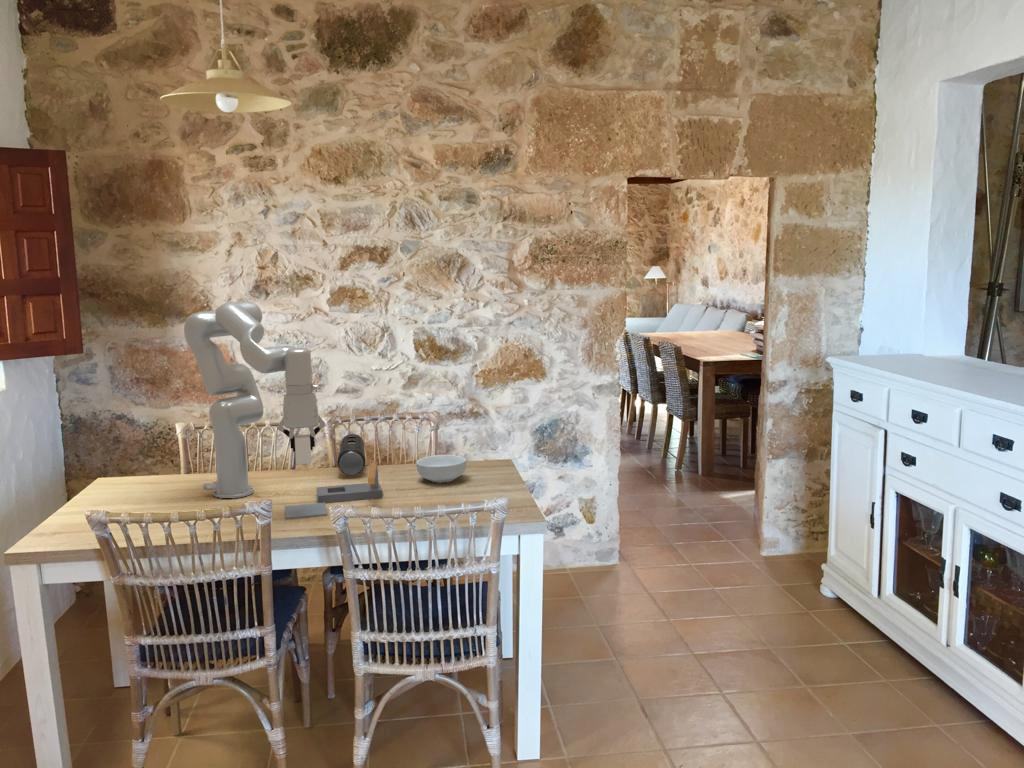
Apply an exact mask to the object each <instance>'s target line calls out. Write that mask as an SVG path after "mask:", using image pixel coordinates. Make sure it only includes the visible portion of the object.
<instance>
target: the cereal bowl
mask: <svg viewBox="0 0 1024 768" xmlns="http://www.w3.org/2000/svg"><path fill="white" fill-rule="evenodd" d="M415 463H416V469H417V473H418V474H419V476H421V477H422V478H423V479H425V480H427V481H428V480H429V481H430V482H431V481H432V483H434V482H436V483H435V484H443V483H442V482H447V483H450V481H451V482H453V481H454V480H455V479H457V478H459V477H461V476H462V475H463V474H464V473H465V470H466V469H467V458H466V457H464V456H460V455H454V454H436V455H429V456H425V457H421V458H419V459H417V461H416V462H415Z"/></svg>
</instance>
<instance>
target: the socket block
mask: <svg viewBox="0 0 1024 768" xmlns="http://www.w3.org/2000/svg"><path fill="white" fill-rule="evenodd" d="M378 470H379V469H378V468H377V469H376V475H375V482H374V484H368V482H364V483H354V484H353V483H352V484H341V485H330V486H318V487H316V497H317V503H324V502H325V504H328V503H329V504H330V503H331V504H332V503H338V502H339V503H340V502H341V503H342V502H350V501H353V502H354V501H364V500H372V498H376V499H383V498H384V497H383V496H384V494H383V488H382V486H381V484H380V482H379V471H378ZM382 497H383V498H382ZM363 499H364V500H363Z"/></svg>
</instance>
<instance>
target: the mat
mask: <svg viewBox="0 0 1024 768" xmlns="http://www.w3.org/2000/svg"><path fill="white" fill-rule="evenodd" d="M284 508H285V509H284V510H285V511H284V512H285V520H292V519H294V520H295V519H304V518H313V517H324V516H328V511H327V506H326V503H325V502H324V503H318V502H317V503H316V502H315V503H306V504H305V503H304V504H294V505H292V504H291V505H285V506H284Z"/></svg>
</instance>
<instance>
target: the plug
mask: <svg viewBox="0 0 1024 768" xmlns="http://www.w3.org/2000/svg"><path fill="white" fill-rule="evenodd" d="M294 437H295V452H294V454H295V455H294V456H295V465H296V466H297V465H309V464H312V453H311V452H312V450H311V447H310V433H309V434H294Z"/></svg>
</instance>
